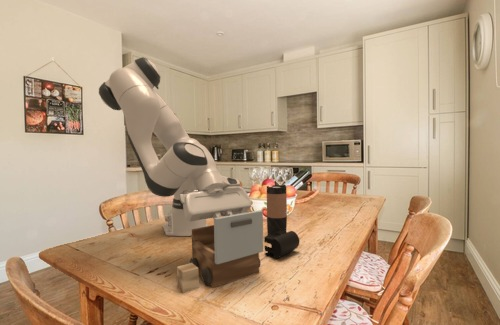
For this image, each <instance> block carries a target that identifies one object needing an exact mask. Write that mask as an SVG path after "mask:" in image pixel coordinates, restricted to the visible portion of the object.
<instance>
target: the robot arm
mask: <svg viewBox="0 0 500 325" xmlns="http://www.w3.org/2000/svg"><path fill="white" fill-rule="evenodd" d="M160 83H161V75H160V71H159V69H158V67H157V66H156V64H155V63H154V62H152V60H150V59H148V58H146V57H144V56H142V57H140V58H137V59H135V60H134V61H133V62H131V63H129V64H127V65H125V66H123V67H121V68H117V69H115V70H114V71H113V72H112V73H111V74H110V75H109V78H108V79H107V80H106V81H103V83H102V84H101V85H100V86H99V87H98V95H99V96H100V99H101V101H102V102H103V104H105V105H106V106H107V107H109V108H110V109H112V110H114V111H122V112H123V117H124V120H125V124H126V136H127V138H128V141H129V144H130V146H131V148H132V150H133V152H134V155H135V157H136V159H137V162H138V163H139V165H140V167H141V168H140V169H141V170H142V173H143V176H144V180H145V184H146V186H147V188H148V190H149V191H150V192H151V193H152V194H153V195H155V196H158V197H164V198H166V197H172V196H173V199H172V203H171V204H172V205H171V207H172V208H171V209H170V211H169V212H168V213H167V216H165V217H164V222H165V223H164V224H162V229H163V231H164V234H165V236H166V237H169V236H177V237H189V236H190V237H192V229H196V228H201V227H206V226H210V225H209V224H207V220H208V219H213V220H214V218H219V217H224V216H230V215H232V214H237V213H243V212H246V213H248V211H249V210H250V208H251V207H252V200H251V198H250V196H249V195H248V193H247V191H246V190H245V188H243V187H242V186H240V185H241V181H240V180H239V179H237V178H233V177H229V176H225V175H222V173H221V172H220V171H219V170H218V167H217V163H216V161H215V159H214V158H213V155H212V154H211V153H210V151H209V149H208V148H207V147H206V146H204V145H203V144H201V143H200V142H199V141H198V140H197V139H196V138H191V136H189V134H188V133H187V132H186V131H187V130H185V128H184V126H183V125H182V123H181V121H180V120H179V119H178V116H176V114H175V113H174V112H173V110H172V109H171V107H169V106H168V104H167V103H166V102H165V100H164V99H163V98H162V97H161V96H160V95H159V94H158V93H157V91H155V90H154V87H155V88H156V89H157V90H159V89H160V88H159V85H160ZM153 134H154V135H155V136H156V137H157V138H158V140H159V142H160V143H161V145H162V146H163V147H164V148H165V150H166V152H165V153H164V155H163V156H162V157H161V158H160V159H159V157H158V155H157V153H156V151H155V148H154V147H153V143H152V136H153Z"/></svg>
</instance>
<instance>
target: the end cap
mask: <svg viewBox="0 0 500 325" xmlns="http://www.w3.org/2000/svg"><path fill="white" fill-rule="evenodd" d="M276 234H279V236H274V235H271V234H270V235H268V234H267V235H265V236H264V237H263V243H265V244H270V246H268V245H264V252H265V254H264V256H267V257H269V258H272V259H279V258H280V257H283V256H284V255H287V254H289V253H291V252H293V251H294V250H296V249H297V248H298V247H299V246H300V238H299V236H298V234H297V233H296V232H295V231H294V230H290V231H288V232H287V231H286V232H284V231H279V232H276Z"/></svg>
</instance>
